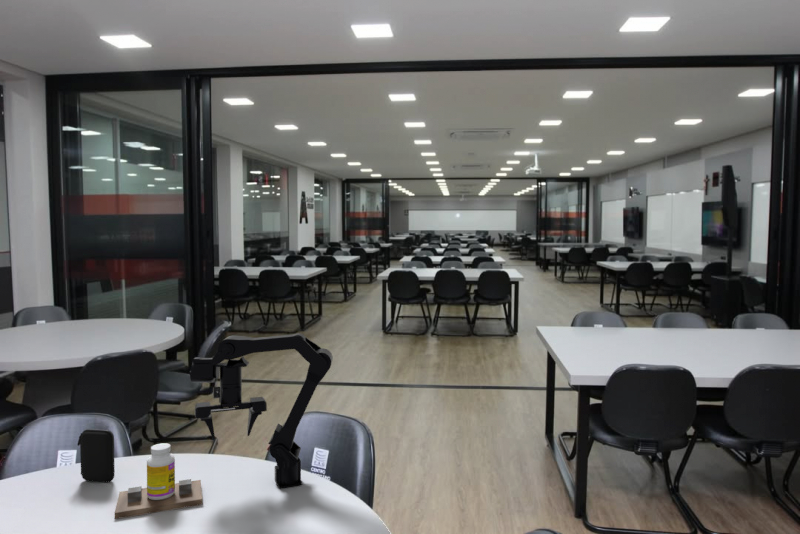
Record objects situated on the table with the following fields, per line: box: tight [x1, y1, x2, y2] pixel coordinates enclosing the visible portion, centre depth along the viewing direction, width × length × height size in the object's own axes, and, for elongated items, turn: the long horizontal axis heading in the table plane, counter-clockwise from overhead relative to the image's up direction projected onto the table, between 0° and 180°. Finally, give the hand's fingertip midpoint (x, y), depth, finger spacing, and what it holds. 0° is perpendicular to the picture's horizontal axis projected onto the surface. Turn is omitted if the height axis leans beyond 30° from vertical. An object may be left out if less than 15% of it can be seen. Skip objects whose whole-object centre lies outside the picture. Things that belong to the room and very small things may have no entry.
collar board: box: [114, 478, 203, 520], centre depth 141 cm, size 20×12×4 cm, turn 112°
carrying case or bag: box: [77, 428, 115, 483], centre depth 152 cm, size 11×3×15 cm, turn 83°
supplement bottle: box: [146, 442, 176, 500], centre depth 141 cm, size 7×7×13 cm
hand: (231, 437), depth 151 cm, fingers open, 9 cm apart
